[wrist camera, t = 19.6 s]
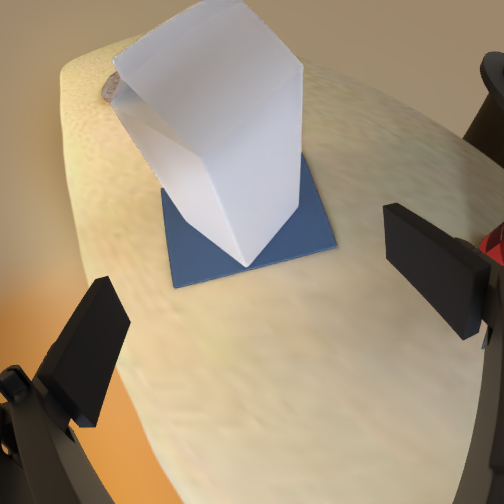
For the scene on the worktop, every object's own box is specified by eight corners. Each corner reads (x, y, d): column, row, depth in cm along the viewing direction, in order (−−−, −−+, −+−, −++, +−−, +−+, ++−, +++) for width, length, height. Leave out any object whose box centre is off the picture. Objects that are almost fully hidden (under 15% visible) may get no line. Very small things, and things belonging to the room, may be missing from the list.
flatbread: (120, 67, 39) (118, 62, 38) (162, 64, 37) (160, 59, 37) (92, 104, 36) (89, 100, 35) (135, 103, 35) (132, 98, 34)
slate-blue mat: (301, 154, 30) (301, 151, 29) (336, 247, 26) (337, 245, 26) (161, 190, 30) (160, 188, 30) (174, 288, 26) (173, 287, 26)
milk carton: (299, 206, 27) (304, -3, 10) (247, 269, 26) (170, 81, 8) (237, 167, 29) (188, -22, 12) (186, 222, 28) (75, 48, 10)
